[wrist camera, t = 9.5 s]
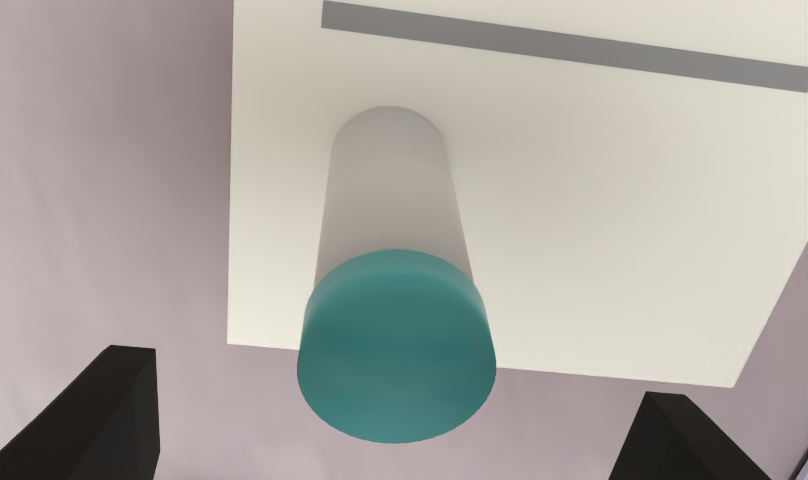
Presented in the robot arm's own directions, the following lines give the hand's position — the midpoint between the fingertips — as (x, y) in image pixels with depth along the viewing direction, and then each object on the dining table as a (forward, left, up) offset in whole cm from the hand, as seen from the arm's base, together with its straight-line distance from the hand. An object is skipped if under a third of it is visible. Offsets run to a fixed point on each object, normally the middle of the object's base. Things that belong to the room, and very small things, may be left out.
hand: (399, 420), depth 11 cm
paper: (-4, 0, -9) cm, 10 cm away
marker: (0, 0, -9) cm, 9 cm away
